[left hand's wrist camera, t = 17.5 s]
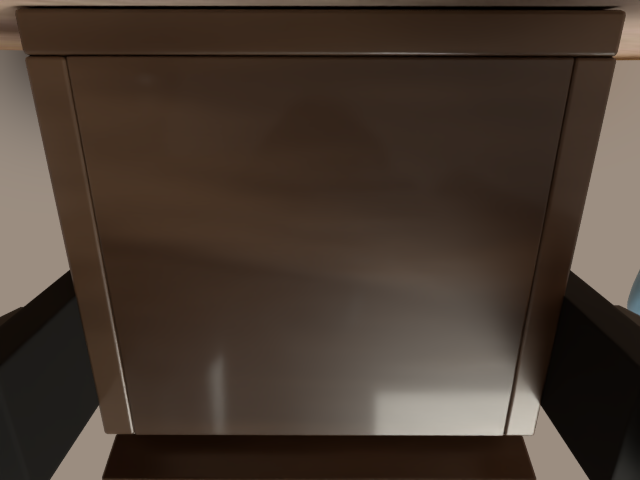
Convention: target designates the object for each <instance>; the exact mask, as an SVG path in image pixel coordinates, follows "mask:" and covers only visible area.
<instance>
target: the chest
mask: <svg viewBox="0 0 640 480" xmlns="http://www.w3.org/2000/svg"><path fill="white" fill-rule="evenodd" d="M625 16H626V15H625V12H624V11H622V10H412V9H30V8H20V9H18V10H16V19H17V24H18V28H19V33H20V38H21V42H22V47H23V51H24V52H25V53H26V54H28V55H30V56H28V57H26V60H25V61H26V66H27V71H28V75H29V80H30V85H31V89H32V94H33V99H34V103H35V108H36V112H37V117H38V122H39V127H40V131H41V136H42V141H43V145H44V150H45V155H46V159H47V164H48V169H49V173H50V178H51V183H52V188H53V192H54V197H55V202H56V206H57V211H58V216H59V220H60V225H61V230H62V234H63V239H64V244H65V248H66V253H67V257H68V262H69V267H70V272H71V276H72V281H73V286H74V290H75V295H76V299H77V304H78V308H79V313H80V318H81V322H82V327H83V332H84V336H85V341H86V345H87V350H88V355H89V359H90V364H91V369H92V373H93V378H94V383H95V387H96V392H97V396H98V401H99V407H100V412H101V417H102V421H103V426H104V431H105V433H107V434H133V433H134V432H135V434H136V435H361V436H503V435H506V436H532V435H534V432H535V428H536V423H537V418H538V414H539V409H540V405H541V400H542V396H543V391H544V387H545V382H546V378H547V373H548V368H549V364H550V359H551V355H552V350H553V346H554V341H555V337H556V332H557V327H558V323H559V318H560V314H561V309H562V305H563V300H564V296H565V291H566V287H567V282H568V277H569V273H570V268H571V264H572V259H573V255H574V250H575V246H576V241H577V236H578V232H579V227H580V223H581V218H582V214H583V209H584V205H585V200H586V196H587V191H588V187H589V182H590V177H591V173H592V168H593V164H594V159H595V154H596V150H597V146H598V141H599V136H600V132H601V127H602V123H603V118H604V114H605V109H606V105H607V100H608V95H609V91H610V86H611V82H612V77H613V73H614V68H615V64H616V59H615V58H613V57H612V56H615V55H616V54H617V52H618V48H619V43H620V39H621V34H622V30H623V25H624V21H625Z"/></svg>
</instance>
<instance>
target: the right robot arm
mask: <svg viewBox="0 0 640 480" xmlns="http://www.w3.org/2000/svg"><path fill="white" fill-rule="evenodd" d="M627 308H628V310H630V311H632V312H634V313H636V314H638V315H640V271H639V273H638V275H637V277H636V279H635V281H634V284H633V286H632V289H631V292H630V295H629V298H628V304H627Z"/></svg>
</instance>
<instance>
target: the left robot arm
mask: <svg viewBox="0 0 640 480" xmlns="http://www.w3.org/2000/svg"><path fill="white" fill-rule="evenodd" d="M98 405H99V401H98V396H97V392H96V387H95V383H94V378H93V373H92V369H91V364H90V359H89V355H88V350H87V345H86V341H85V336H84V332H83V327H82V322H81V318H80V313H79V308H78V304H77V299H76V295H75V290H74V286H73V281H72V276H71V272H70V270H69V271H68V272H67V273H65V274H64V275H63V276H62V277H60V278H59V279H58V280H57V281H55V282H54V283H53V284H52V285H50V286H49V287H48V288H47V289H45V290H44V291H43V292H42V293H41V294H39V295H38V296H37V297H36V298H34V299H33V300H32V301H31V302H29V303H28V304H27V305H26V306H24V307H20V308H18V309H16V310H14V311H12V312H10V313H8V314H5V315H3V316H1V317H0V480H50V479H51V477H52V476H53V474H54V473H55V471H56V470H57V468H58V467H59V465H60V463H61V462H62V460H63V459H64V457H65V456H66V454H67V453H68V451H69V450H70V448H71V447H72V445H73V444H74V442H75V441H76V439H77V437H78V436H79V434H80V433H81V431H82V430H83V428H84V427H85V425H86V424H87V422H88V421H89V419H90V418H91V416H92V415H93V413H94V412H95V410H96V409H97V407H98ZM541 406H542V408H543V409H544V411H545V412H546V414H547V415H548V417H549V418H550V420H551V421H552V423H553V425H554V426H555V428H556V429H557V431H558V432H559V434H560V435H561V437H562V438H563V440H564V441H565V443H566V444H567V446H568V447H569V449H570V451H571V452H572V454H573V455H574V457H575V458H576V460H577V461H578V463H579V464H580V466H581V467H582V469H583V470H584V472H585V473H586V475H587V476H588V478H589V479H590V480H640V315H638V314H636V313H634V312H632V311H630V310H628V309H626V308H623V307H621V306H619V305H613V304H611V303H610V302H609V301H608V300H606V299H605V298H604V297H603V296H601V295H600V294H599V293H598V292H596V291H595V290H594V289H593V288H592V287H590V286H589V285H588V284H587V283H585V282H584V281H583V280H582V279H580V278H579V277H578V276H577V275H575V274H574V273H573V272H572V271H571V270H570V273H569V277H568V282H567V287H566V291H565V296H564V300H563V305H562V309H561V314H560V318H559V323H558V327H557V332H556V337H555V341H554V346H553V350H552V355H551V359H550V364H549V368H548V373H547V378H546V382H545V387H544V391H543V396H542V400H541Z"/></svg>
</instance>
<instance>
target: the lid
mask: <svg viewBox="0 0 640 480" xmlns="http://www.w3.org/2000/svg"><path fill="white" fill-rule="evenodd" d="M102 480H536V476H535V473H534V470H533V467H532V464H531V461H530V458H529V455H528V452H527V448H526V445H525V442H524V439H523V437H522V436H506V435H503V436H361V435H136V434H117V435H116V437H115V440H114V443H113V446H112V449H111V452H110V455H109V458H108V461H107V464H106V467H105V470H104V473H103V476H102Z"/></svg>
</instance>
